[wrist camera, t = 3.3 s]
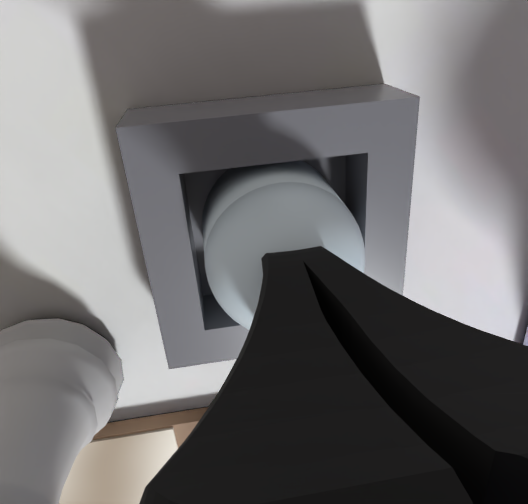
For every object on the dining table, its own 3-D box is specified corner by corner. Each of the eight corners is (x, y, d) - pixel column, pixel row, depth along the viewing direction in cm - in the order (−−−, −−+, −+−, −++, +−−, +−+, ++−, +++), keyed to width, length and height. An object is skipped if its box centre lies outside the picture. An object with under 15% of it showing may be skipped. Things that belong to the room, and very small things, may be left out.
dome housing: (384, 83, 13) (419, 96, 11) (374, 295, 16) (399, 334, 14) (127, 109, 12) (115, 127, 10) (171, 323, 15) (168, 369, 13)
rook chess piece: (-48, 356, 15) (-263, 667, 8) (61, 285, 14) (-65, 553, 7) (53, 431, 17) (-44, 731, 10) (152, 372, 16) (124, 646, 9)
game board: (419, 373, 18) (427, 386, 17) (401, 525, 23) (407, 539, 22) (-63, 450, 16) (-74, 467, 16) (25, 597, 21) (20, 614, 21)
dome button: (335, 146, 13) (396, 203, 9) (334, 268, 15) (385, 359, 11) (192, 162, 13) (194, 229, 9) (211, 285, 14) (218, 385, 11)
